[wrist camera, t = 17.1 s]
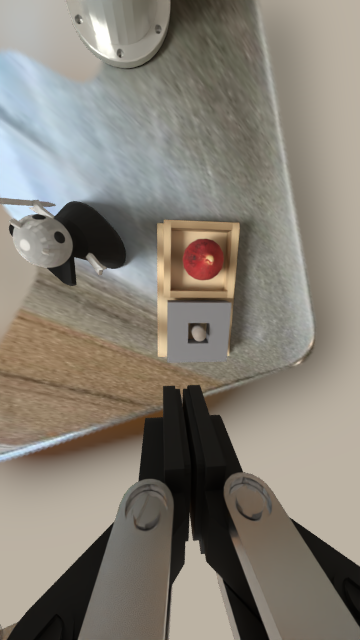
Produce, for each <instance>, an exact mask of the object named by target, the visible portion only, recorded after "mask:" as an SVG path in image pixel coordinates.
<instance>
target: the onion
mask: <svg viewBox="0 0 360 640" xmlns="http://www.w3.org/2000/svg"><path fill="white" fill-rule="evenodd" d="M223 262H224V257H223V251H222V249H221V248H220V246H219V245H218V244H217V243H216V242H215V241H213V240H210V239H197V240H195V241H193V242H192V243H190V244H189V246H188V247H187V248H186V249H185V251H184V255H183V265H184V269H185V270H186V272H187V273H188V274H189V275H190V276H191V277H193V278H194V279H197V280H202V281H203V280H210V279H212V278H214V277H215V276H216V275H218V273H219V272H220V270H221V269H222V266H223Z"/></svg>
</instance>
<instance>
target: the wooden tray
mask: <svg viewBox="0 0 360 640" xmlns="http://www.w3.org/2000/svg"><path fill="white" fill-rule="evenodd" d="M239 225H240V223H230V222H207V221H183V220H164V223H157V280H158V357H167V300H227V301H229V302H231V315H230V327H229V339H228V351H227V356H229V349H230V337H231V325H232V314H233V302H234V290H235V279H236V267H237V255H238V244H239V232H240V226H239ZM197 239H210V240H213V241H215V242H216V243H217V244H218V245H219V246H220V248H221V249H222V251H223V257H224V262H223V266H222V269H221V270H220V272H219V273H218V275H216V276H215V277H214V278H212V279H210V280H203V281H202V280H197V279H194V278H193V277H191V276H190V275H189V274H188V273H187V272H186V270H185V269H184V265H183V255H184V251H185V249H186V248H187V247H188V246H189V244H190V243H192V242H193V241H195V240H197ZM205 338H206V323H188V339H195V340H196V341H203V340H204V339H205Z"/></svg>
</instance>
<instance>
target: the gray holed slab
mask: <svg viewBox="0 0 360 640" xmlns="http://www.w3.org/2000/svg"><path fill="white" fill-rule="evenodd" d="M230 315H231V302H229V301H227V300H167V362H217V361H227V351H228V339H229V327H230ZM188 323H206V338H205V339H204V340H203V341H196V340H195V339H188Z"/></svg>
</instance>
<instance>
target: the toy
mask: <svg viewBox="0 0 360 640" xmlns="http://www.w3.org/2000/svg"><path fill="white" fill-rule="evenodd" d="M0 204H11V205H27V206H34V207H30V209H31V210H33V211H34V212H36V213H38V214H35V215H28V216H26V217H24V218H22V219H21V220H19V221H17V220H15V219H11V220H9V222H10V226H9V231H10V234H11V235H12V237H13V242H14V245H15V247H16V249H17V251H18V252H19V253H20V254H21V256H22V257H23V258H25V259H26V260H27V261H28V262H30V263H32V264H34V265H37V266H40V267H46V268H47V269H49V270H50V271H51V272H52V273H53V274H54V275H55V276H56V277H57V278H59V279H60V280H61V281H62V282H63V283H65V284H67V285H70V286H74V285H76V274H75V263H74V257H76V258H80V259H84V260H87V261H89V262H90V264H91V265H92V266H93V267H94V269H95V270H96V272H97V273H98V275H102V271H103V270H104V269H107V268H111V269H116V268H119V267H121V266H122V265H123V264H124V262H125V258H126V253H125V248H124V245H123V243H122V241H121V239H120V237H119V235H118V234H117V232H116V231H115V230H114V229H113V228H112V226H111V225H110V224H109V223H108V222H107V221H106V220H105V219H104V218H103V217H102V216H101V215H100V214H99V213H98V212H97V211H96V210H94V209H93V208H92V207H90V206H88V205H87V204H84V203H82V202H77V201H73V202H69V203H67V204H66V205H65V206H64V207H63V208H62V209H61V210H60V212H59V213H58V214H57V215H56V216H54V215H52V214H51V213H50V212H48V211H47V210H46V209H44V207H51V206H56V205H55V204H53V203H49V202H41V201H39V200H33V201H30V200H18V199H7V198H0ZM43 206H44V207H43ZM106 267H107V268H106Z"/></svg>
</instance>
